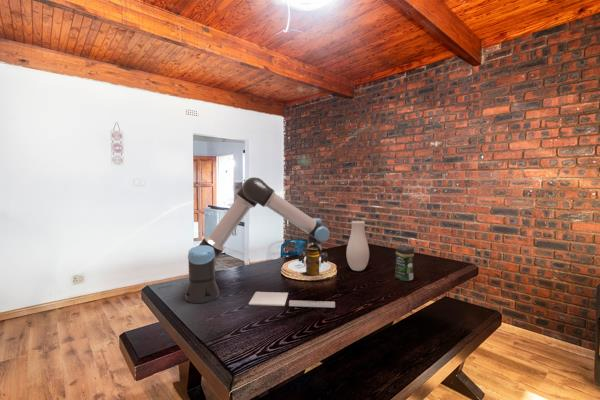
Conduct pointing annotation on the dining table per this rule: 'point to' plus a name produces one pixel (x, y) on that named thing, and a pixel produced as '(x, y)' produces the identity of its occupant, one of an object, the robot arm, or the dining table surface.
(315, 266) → the condiment
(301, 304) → the bar
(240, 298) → the dining table surface
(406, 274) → the coffee jar
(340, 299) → the dining table surface
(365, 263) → the vase
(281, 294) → the mat
